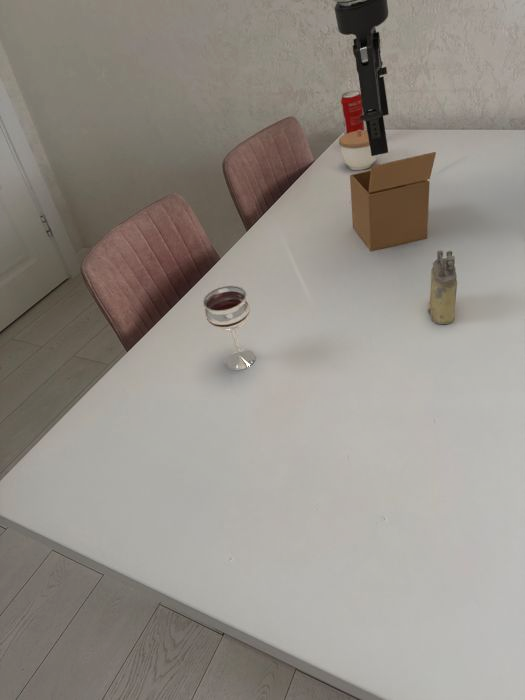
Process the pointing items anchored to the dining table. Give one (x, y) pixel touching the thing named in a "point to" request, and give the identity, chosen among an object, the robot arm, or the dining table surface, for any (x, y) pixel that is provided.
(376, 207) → the carton
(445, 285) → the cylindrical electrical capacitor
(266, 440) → the dining table surface
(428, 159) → the carton flap
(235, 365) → the wineglass
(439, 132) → the dining table surface
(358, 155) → the trinket box
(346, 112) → the beverage can
